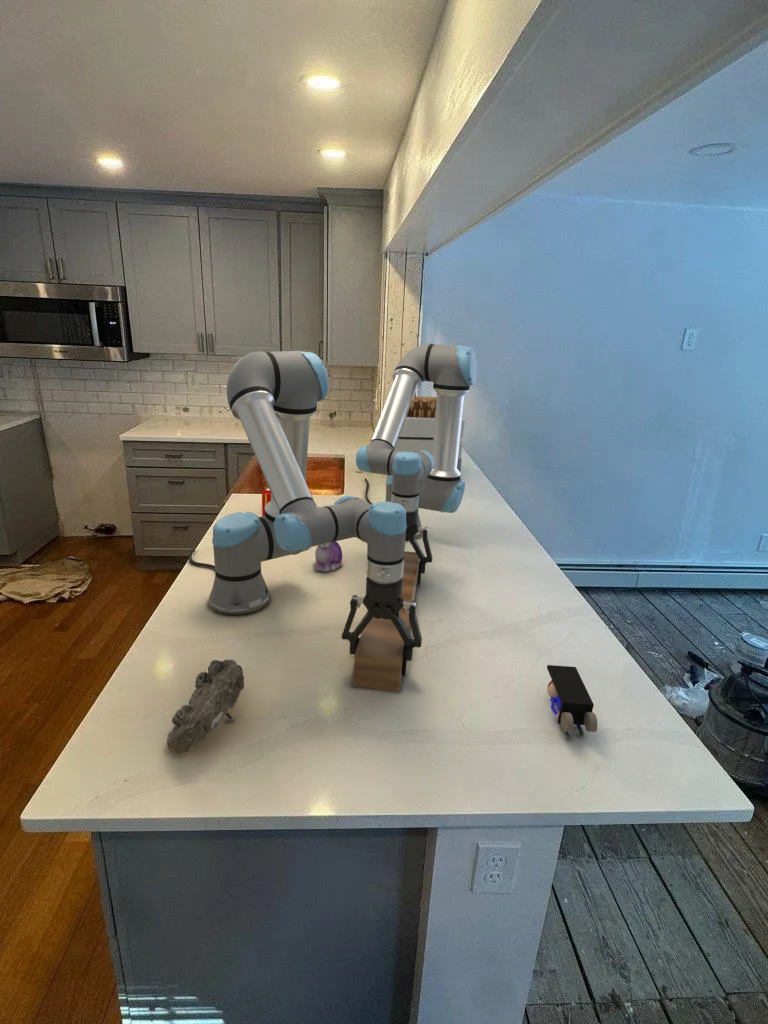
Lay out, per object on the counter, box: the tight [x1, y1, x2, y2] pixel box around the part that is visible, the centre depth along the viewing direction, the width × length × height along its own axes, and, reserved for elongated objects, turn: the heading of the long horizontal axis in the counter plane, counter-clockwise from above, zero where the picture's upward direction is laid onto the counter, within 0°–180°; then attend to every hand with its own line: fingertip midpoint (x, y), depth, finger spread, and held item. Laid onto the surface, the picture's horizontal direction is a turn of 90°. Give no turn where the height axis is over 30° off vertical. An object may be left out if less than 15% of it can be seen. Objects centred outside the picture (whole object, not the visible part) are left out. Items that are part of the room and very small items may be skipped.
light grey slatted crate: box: [394, 395, 465, 474], centre depth 268 cm, size 34×33×41 cm
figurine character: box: [546, 664, 598, 737], centre depth 111 cm, size 7×8×15 cm
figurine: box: [314, 541, 343, 572], centre depth 170 cm, size 9×10×15 cm
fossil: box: [166, 658, 245, 754], centre depth 106 cm, size 22×10×15 cm
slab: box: [353, 550, 420, 692], centre depth 143 cm, size 55×10×7 cm, turn 173°
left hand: (380, 669), depth 124 cm, fingers closed on slab, 10 cm apart
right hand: (400, 581), depth 164 cm, fingers open, 10 cm apart
